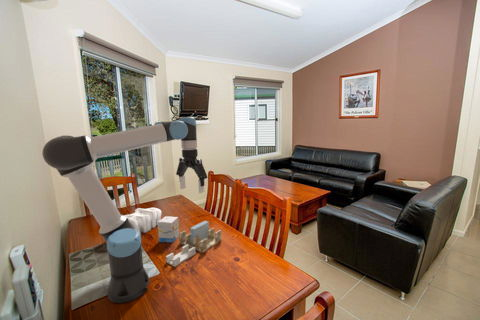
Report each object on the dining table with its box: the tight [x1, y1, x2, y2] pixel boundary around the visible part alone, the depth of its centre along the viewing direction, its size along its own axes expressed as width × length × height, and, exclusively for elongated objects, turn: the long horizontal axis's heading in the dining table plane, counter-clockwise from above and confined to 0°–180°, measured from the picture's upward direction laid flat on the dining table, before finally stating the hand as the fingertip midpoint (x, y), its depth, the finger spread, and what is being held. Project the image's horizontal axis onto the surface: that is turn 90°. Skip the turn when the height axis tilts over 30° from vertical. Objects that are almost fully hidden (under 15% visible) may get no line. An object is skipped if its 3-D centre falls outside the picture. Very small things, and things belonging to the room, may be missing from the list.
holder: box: [165, 244, 197, 268], centre depth 111 cm, size 13×6×3 cm, turn 144°
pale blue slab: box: [189, 220, 210, 244], centre depth 125 cm, size 11×3×9 cm, turn 144°
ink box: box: [157, 215, 180, 243], centre depth 130 cm, size 9×8×12 cm
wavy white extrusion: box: [125, 207, 162, 237], centre depth 142 cm, size 35×16×11 cm, turn 153°
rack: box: [178, 227, 222, 254], centre depth 125 cm, size 15×17×6 cm
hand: (192, 190), depth 116 cm, fingers open, 13 cm apart
